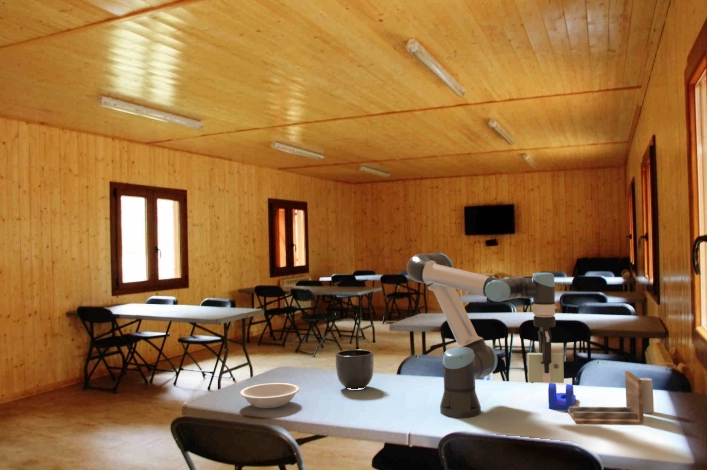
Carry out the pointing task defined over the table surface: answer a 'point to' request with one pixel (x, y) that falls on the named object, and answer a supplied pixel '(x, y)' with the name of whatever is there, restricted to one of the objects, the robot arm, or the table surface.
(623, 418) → the wooden l-shaped piece
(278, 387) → the soup bowl
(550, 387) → the bracket
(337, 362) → the planter
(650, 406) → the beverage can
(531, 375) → the door panel
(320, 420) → the table surface
